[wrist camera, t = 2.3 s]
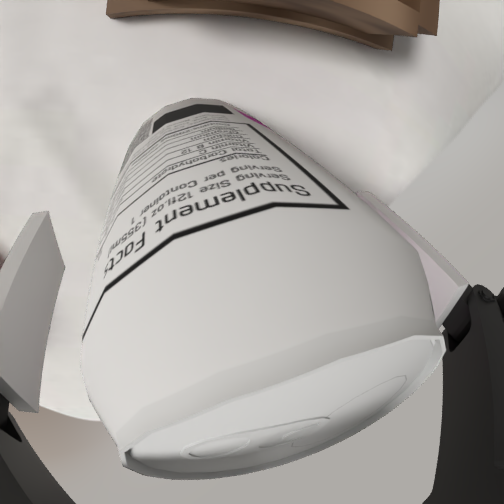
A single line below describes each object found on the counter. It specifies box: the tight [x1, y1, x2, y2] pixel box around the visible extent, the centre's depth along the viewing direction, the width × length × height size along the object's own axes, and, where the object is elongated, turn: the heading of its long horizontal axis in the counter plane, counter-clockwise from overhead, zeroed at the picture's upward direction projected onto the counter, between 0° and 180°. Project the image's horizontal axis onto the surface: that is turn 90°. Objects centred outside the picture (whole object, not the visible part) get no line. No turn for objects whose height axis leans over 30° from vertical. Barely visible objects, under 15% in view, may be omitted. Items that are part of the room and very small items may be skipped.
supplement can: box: [80, 98, 446, 480], centre depth 11 cm, size 8×8×15 cm
